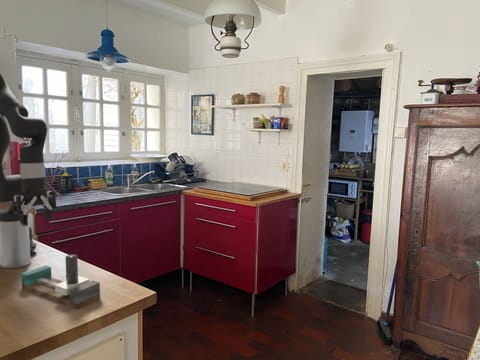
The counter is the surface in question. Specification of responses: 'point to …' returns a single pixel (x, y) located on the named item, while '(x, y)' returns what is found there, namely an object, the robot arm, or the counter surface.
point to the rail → (45, 286)
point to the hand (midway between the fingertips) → (36, 222)
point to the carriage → (70, 276)
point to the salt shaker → (31, 243)
